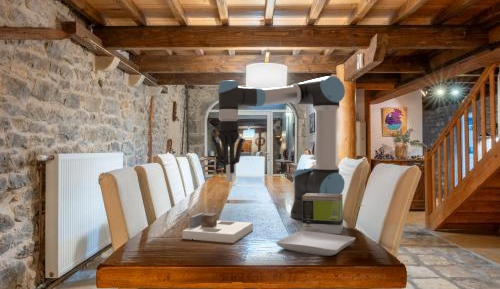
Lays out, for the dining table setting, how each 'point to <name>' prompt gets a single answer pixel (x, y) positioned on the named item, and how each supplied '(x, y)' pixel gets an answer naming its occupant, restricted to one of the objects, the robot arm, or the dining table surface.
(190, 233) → the platform
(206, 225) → the walnut block
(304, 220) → the tea box
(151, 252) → the dining table surface
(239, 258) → the dining table surface
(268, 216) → the dining table surface
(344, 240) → the salad plate
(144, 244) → the dining table surface
